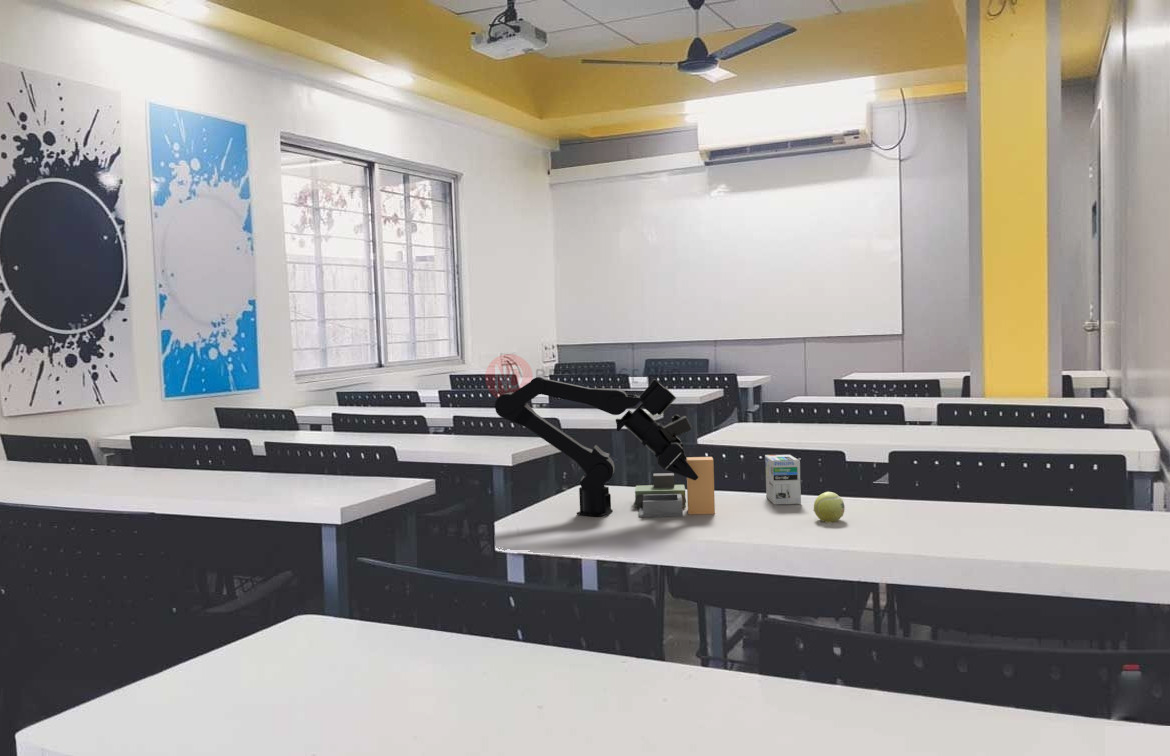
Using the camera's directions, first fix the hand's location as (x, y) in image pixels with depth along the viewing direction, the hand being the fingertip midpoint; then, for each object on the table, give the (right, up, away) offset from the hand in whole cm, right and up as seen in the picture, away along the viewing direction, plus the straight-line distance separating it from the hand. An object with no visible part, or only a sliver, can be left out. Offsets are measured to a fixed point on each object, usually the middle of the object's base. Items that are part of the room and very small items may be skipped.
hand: (696, 475), depth 210 cm
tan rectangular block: (+1, -8, 0) cm, 9 cm away
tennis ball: (+27, -8, -14) cm, 32 cm away
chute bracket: (-8, -9, +1) cm, 12 cm away
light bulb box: (+23, -8, +11) cm, 26 cm away
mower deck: (-7, -8, +11) cm, 16 cm away
